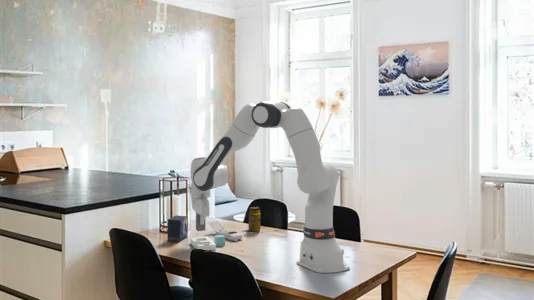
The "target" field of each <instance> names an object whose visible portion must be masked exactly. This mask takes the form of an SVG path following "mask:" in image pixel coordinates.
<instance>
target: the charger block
mask: <svg viewBox="0 0 534 300" xmlns="http://www.w3.org/2000/svg"><path fill="white" fill-rule="evenodd" d="M195 230H196V231H197V232H203V231H206V219H205V220H204V225H201V224H200V215H199V214H198V213H197V212H195Z"/></svg>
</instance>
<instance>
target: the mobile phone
mask: <svg viewBox="0 0 534 300" xmlns="http://www.w3.org/2000/svg"><path fill="white" fill-rule="evenodd" d="M208 224H209V226H210V227H211V228H212V229H213V230H214V232H215V234H216V235H224V236H225V238H226V239H225V240H228V241H233V242H236V243H237V242H239V241H238V240H243V234H242V233H240V232H238V231H235V230H234V231H232V230H228V229H226V228H224V227H223V225H222V224H221V223H220V221H219V220H213V221H209V222H208Z"/></svg>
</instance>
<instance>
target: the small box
mask: <svg viewBox="0 0 534 300" xmlns="http://www.w3.org/2000/svg"><path fill="white" fill-rule="evenodd" d="M187 238H188V215H187V216H186V215H176V214H175V215H174V216H172V217H170V218H168V219H167V242H178V243H180V242H182V241H183V240H184V239H187Z"/></svg>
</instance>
